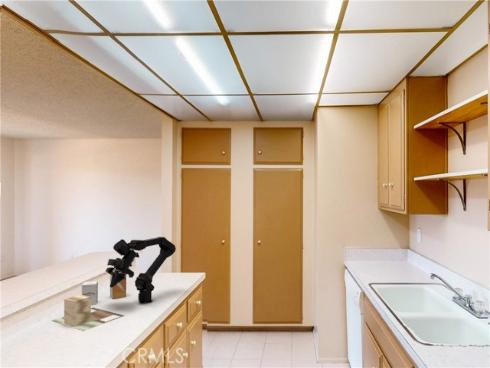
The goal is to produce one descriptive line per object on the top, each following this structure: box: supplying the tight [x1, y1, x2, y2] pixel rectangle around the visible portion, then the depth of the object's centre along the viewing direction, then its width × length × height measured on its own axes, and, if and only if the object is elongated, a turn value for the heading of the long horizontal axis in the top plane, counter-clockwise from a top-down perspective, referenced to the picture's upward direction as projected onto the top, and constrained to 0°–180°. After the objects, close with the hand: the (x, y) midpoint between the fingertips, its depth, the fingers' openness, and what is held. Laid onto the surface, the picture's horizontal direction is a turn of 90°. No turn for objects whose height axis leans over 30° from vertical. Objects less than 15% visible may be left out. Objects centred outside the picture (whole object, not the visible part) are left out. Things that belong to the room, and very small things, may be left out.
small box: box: [109, 274, 127, 300], centre depth 204 cm, size 8×6×13 cm
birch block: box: [63, 294, 92, 326], centre depth 159 cm, size 8×8×11 cm
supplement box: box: [81, 280, 99, 306], centre depth 187 cm, size 7×7×13 cm
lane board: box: [51, 307, 126, 332], centre depth 164 cm, size 22×25×2 cm
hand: (110, 287), depth 175 cm, fingers closed
